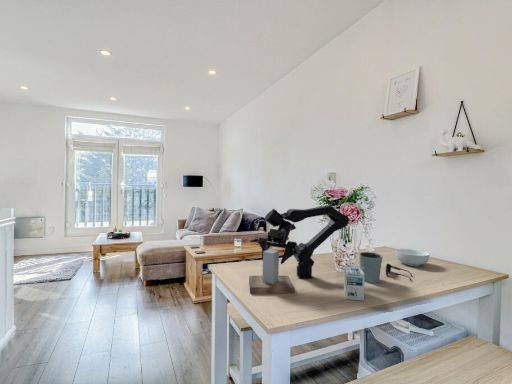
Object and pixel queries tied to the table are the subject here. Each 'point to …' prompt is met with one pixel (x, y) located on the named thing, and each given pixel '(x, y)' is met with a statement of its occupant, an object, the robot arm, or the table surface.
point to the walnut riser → (270, 285)
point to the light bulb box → (354, 282)
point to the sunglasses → (388, 270)
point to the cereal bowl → (412, 256)
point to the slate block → (270, 266)
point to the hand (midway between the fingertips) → (271, 261)
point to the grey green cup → (370, 266)
